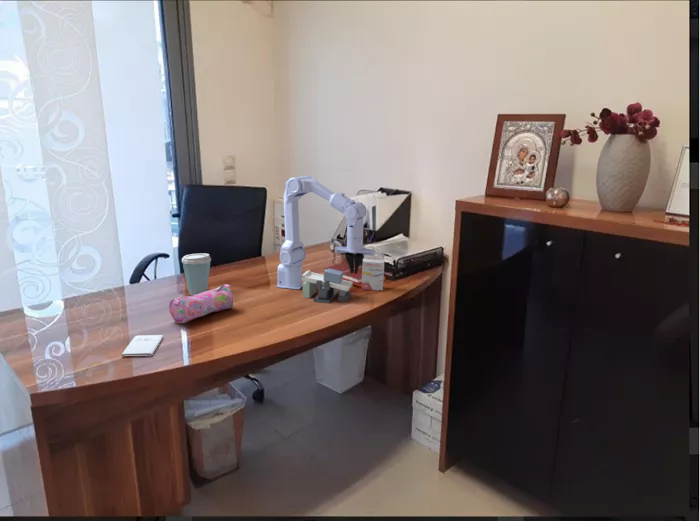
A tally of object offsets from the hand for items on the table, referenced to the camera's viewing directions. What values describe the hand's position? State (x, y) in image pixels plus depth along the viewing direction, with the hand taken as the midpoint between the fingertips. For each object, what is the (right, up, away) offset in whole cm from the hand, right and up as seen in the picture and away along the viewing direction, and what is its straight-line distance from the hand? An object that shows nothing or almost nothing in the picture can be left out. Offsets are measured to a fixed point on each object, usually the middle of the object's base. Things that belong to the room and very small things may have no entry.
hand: (354, 272), depth 183 cm
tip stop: (-4, -10, +4) cm, 11 cm away
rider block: (-8, -3, +3) cm, 9 cm away
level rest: (-17, -8, +7) cm, 20 cm away
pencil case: (-51, -14, -15) cm, 55 cm away
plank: (-10, -4, +4) cm, 12 cm away
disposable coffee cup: (-59, -8, +6) cm, 60 cm away
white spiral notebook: (-61, -21, -39) cm, 75 cm away
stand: (-10, -9, +5) cm, 15 cm away
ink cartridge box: (+7, -7, +16) cm, 19 cm away
